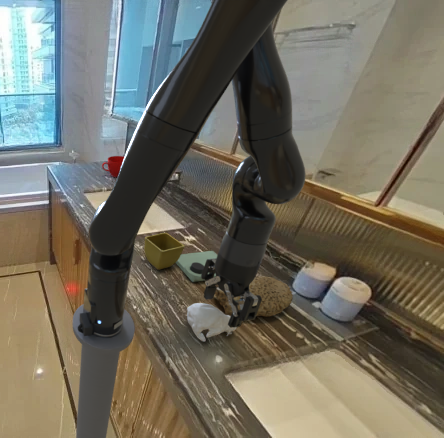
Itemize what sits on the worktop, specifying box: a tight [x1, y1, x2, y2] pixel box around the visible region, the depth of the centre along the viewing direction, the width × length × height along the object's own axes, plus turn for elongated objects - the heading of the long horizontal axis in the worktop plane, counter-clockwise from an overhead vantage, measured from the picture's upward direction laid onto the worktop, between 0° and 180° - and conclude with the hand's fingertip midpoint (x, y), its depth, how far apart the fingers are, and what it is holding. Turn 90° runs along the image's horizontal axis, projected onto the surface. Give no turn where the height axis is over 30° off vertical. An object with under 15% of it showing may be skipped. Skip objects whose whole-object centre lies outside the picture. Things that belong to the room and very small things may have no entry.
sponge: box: [214, 275, 294, 317], centre depth 76 cm, size 13×8×20 cm
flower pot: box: [144, 232, 186, 271], centre depth 91 cm, size 9×9×9 cm
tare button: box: [190, 262, 204, 274], centre depth 86 cm, size 4×4×2 cm
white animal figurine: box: [186, 302, 238, 342], centre depth 68 cm, size 6×8×12 cm
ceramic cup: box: [101, 155, 125, 179], centre depth 164 cm, size 13×17×10 cm
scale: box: [175, 250, 218, 283], centre depth 90 cm, size 16×13×3 cm
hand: (219, 311), depth 66 cm, fingers open, 8 cm apart
